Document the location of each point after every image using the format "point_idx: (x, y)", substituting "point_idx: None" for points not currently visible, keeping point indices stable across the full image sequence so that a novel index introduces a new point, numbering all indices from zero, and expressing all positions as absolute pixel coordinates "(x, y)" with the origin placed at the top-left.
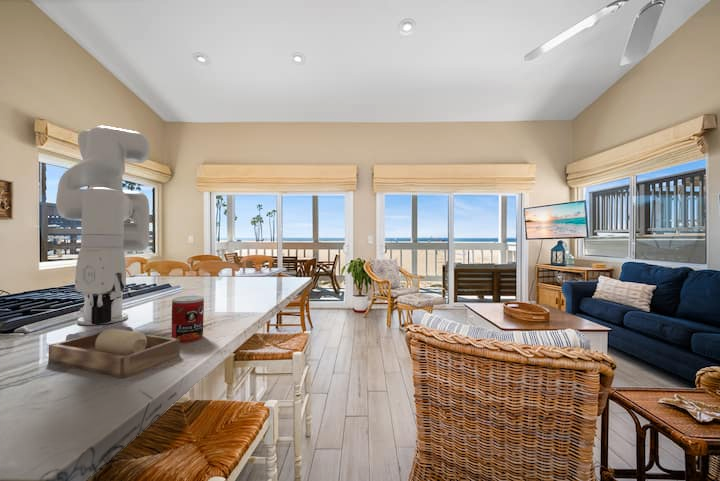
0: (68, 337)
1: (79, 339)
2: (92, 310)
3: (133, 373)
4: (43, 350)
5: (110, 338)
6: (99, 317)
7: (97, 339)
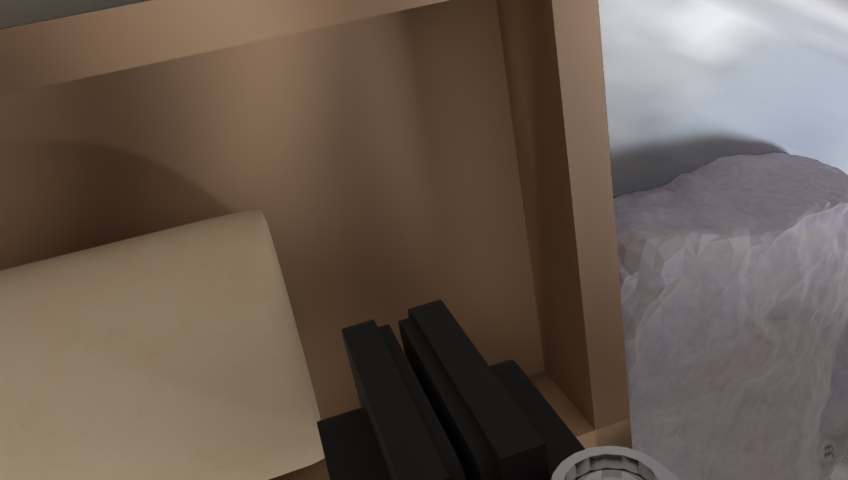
0: (826, 185)
1: (565, 178)
2: (486, 408)
3: None
4: (843, 30)
5: (41, 328)
6: (368, 411)
7: (244, 246)
